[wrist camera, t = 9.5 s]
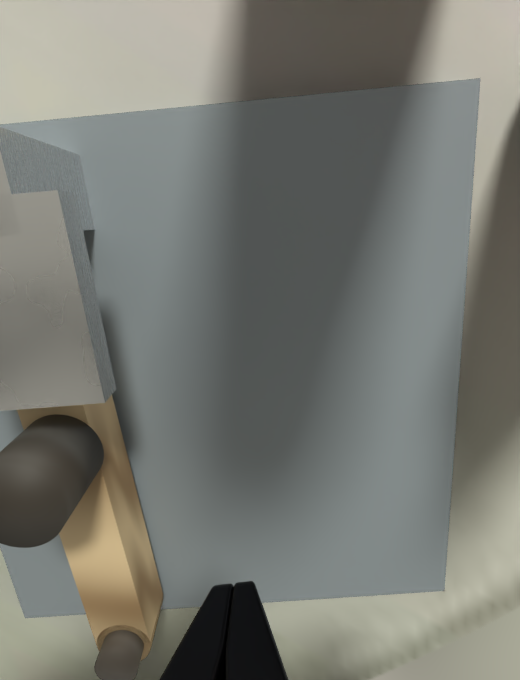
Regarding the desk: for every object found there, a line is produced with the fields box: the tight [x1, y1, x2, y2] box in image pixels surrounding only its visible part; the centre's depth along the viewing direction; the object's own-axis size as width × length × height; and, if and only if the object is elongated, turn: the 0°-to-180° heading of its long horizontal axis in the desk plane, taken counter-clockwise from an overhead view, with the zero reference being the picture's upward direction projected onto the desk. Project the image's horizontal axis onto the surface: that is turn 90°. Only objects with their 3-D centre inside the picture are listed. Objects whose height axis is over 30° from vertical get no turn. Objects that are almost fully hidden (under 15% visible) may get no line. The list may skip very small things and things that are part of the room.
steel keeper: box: [0, 127, 116, 411], centre depth 13 cm, size 5×8×5 cm, turn 5°
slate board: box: [0, 78, 480, 618], centre depth 18 cm, size 22×23×1 cm
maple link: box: [0, 395, 163, 680], centre depth 15 cm, size 18×3×5 cm, turn 7°
